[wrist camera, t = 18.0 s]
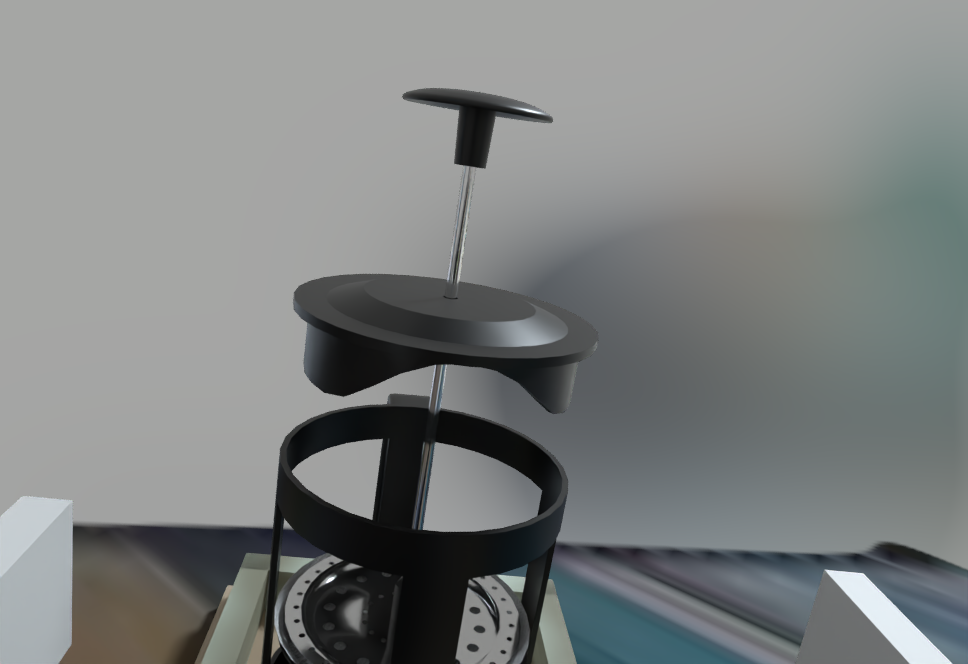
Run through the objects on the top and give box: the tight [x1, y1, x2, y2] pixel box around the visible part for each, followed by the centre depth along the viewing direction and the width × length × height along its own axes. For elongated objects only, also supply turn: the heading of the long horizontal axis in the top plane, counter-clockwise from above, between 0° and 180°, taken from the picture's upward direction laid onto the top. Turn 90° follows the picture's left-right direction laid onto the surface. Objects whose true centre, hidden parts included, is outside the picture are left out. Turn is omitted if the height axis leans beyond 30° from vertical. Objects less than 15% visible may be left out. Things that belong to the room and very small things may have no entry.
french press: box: [261, 88, 598, 664], centre depth 24 cm, size 12×9×23 cm
